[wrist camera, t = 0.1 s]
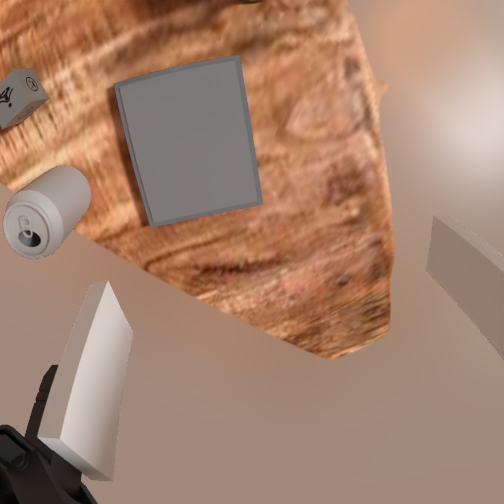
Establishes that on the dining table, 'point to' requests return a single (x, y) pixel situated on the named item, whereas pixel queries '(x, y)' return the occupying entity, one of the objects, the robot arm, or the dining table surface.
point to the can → (46, 212)
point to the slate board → (190, 140)
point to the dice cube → (20, 96)
